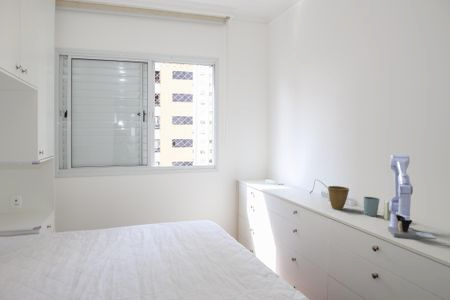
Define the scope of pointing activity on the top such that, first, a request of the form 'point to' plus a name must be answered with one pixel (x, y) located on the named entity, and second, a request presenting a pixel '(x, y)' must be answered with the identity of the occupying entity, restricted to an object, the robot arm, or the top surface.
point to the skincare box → (386, 210)
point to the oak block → (400, 227)
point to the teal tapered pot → (371, 206)
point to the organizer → (403, 233)
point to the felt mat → (425, 235)
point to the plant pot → (338, 196)
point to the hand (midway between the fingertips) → (402, 229)
